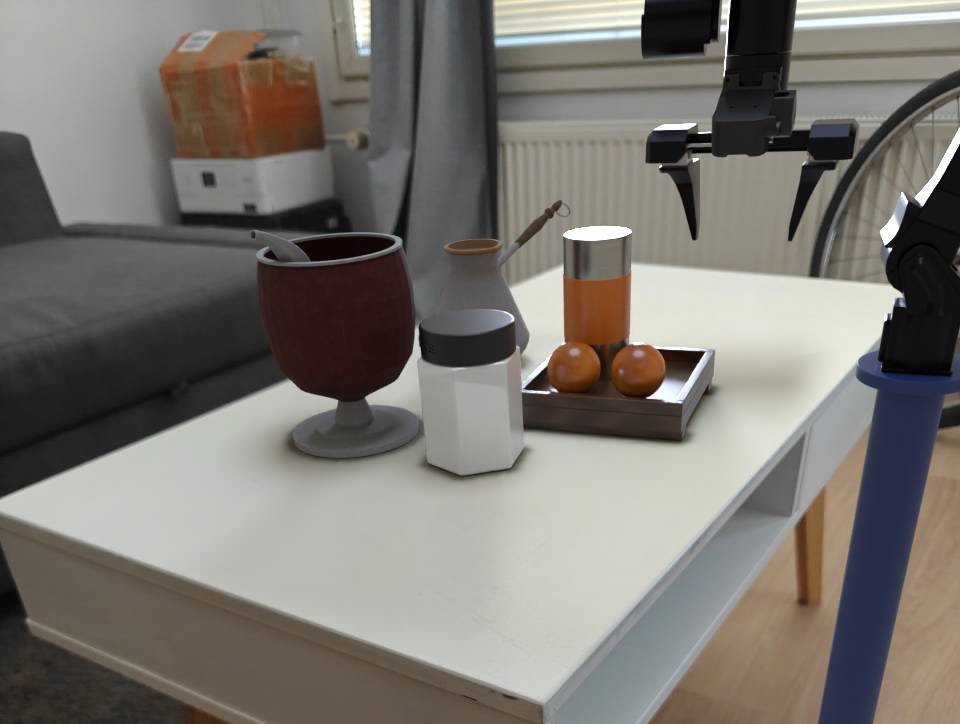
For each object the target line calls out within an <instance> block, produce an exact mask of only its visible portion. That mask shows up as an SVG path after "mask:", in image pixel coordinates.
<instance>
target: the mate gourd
mask: <svg viewBox="0 0 960 724" xmlns="http://www.w3.org/2000/svg"><path fill="white" fill-rule="evenodd" d="M249 239H250V240H251V241H258V242H261V243H263V244H264V245H265V247H263V248H261V249H260V250H258V251H257V252H256V253H255V257H256V260H257V262H256V288H257V301H258V307H259V313H260V317H261V323H262V327H263V330H264V333H265V337H266V339H267V342H268V345H269V348H270V352H271V355H272V357H273V360H274V361H275V363H276V365H277V368H278V369H279V370H280V371H281V372H282V373H283V374H284V376H286V377H287V378H288V380H290V382H292V384H294V385H295V386H296V387H297V388H298V389H299V390H300V391H301V392H304V393H307V394H311V395H314V396H318V397H324V398H328V399H332V400H335V401H337V405H336V408H333V409H329V410H326V411H323V412H320V413H317V414H314V415H311V416H309V417H308V418H306V419H304V420H303V421H301V422H300V423H298V424H297V425H296V426H295V428H294V429H293V432H292V440H293V443H294V446H295V447H296V448H297V449H298V450H299V451H301V452H302V453H305V454H307V455H311V456H314V457H320V458H330V459H332V458H333V459H349V458H350V459H351V458H361V457H366V456H372V455H377V454H381V453H386V452H389V451H391V450H394V449H396V448H399V447H402V446H403V445H406V444H407V443H409V442H410V441H412V440H413V438H416V436H417V435H418V433H419V430H420V425H419V418H418V417H417V415H416V414H415V413H414V412H413V411H410V410H407V409H405V408H402V407H399V406H394V405H386V404H369V402H368V400H367V397H368V396H369V395H372V394H373V393H376V392H377V391H379V390H382V389H384V388H386V387H388V386H390V385H392V384H393V383H394V382H396V381H397V380H399V378H400V376H401V374H402V372H403V371H404V369H405V367H406V365H407V364H408V362H409V360H410V358H411V357H412V355H413V353H414V345H415V338H416V337H415V336H416V304H415V297H414V296H415V295H414V285H413V279H412V274H411V271H410V267H409V263H408V262H409V261H408V259H407V256H406V253H405V250H404V247H403V239H402V238H401V237H399V236H398V235H397V236H396V235H394V234H389V233H381V232H369V231H368V232H365V231H363V232H358V231H357V232H354V231H353V232H337V233H325V234H317V235H310V236H303V237H298V238H293V239H285V238H282V237H280V236H277V235H274V234H272V233H269V232H266V231H260V230H259V229H258V230H257V229H251V230H250V231H249Z"/></svg>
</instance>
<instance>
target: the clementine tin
mask: <svg viewBox="0 0 960 724" xmlns="http://www.w3.org/2000/svg"><path fill="white" fill-rule="evenodd" d="M632 242H633V232H632V230H631V229H629V228H627V227H621V226H607V225H606V226H605V225H602V226H588V227H581V228H575V229H572V230H568V231H566V232H564V233H563V235H562V251H563V252H562V253H563V257H562V258H563V261H562V262H563V263H562V264H563V274H562V283H563V284H562V289H563V290H562V294H563V295H562V296H563V338H564V342H565V343H567V342H572V341H577V342H582V343H585V344H587V345H589V346H590V347H591V348H592V349H593V350H594V351H595V352H596V354H597V355H598V357H599V360H600V365H601V372H600V376H599V379H598V380H608V379H611V366H612V362H613V360H614V358H615V356H616V355H617V353H618V352H619V351H620V350H621V349H623V348H624V347H626V346H628V345H630V335H631V308H632V307H631V306H632V245H633V243H632Z"/></svg>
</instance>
